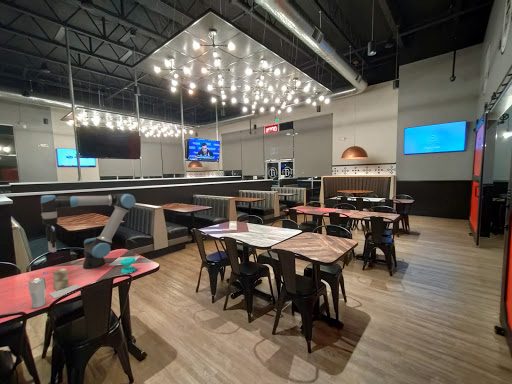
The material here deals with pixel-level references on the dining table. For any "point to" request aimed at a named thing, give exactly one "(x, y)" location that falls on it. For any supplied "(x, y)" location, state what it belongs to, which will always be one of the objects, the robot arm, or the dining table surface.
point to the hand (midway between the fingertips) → (52, 251)
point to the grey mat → (63, 291)
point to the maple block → (60, 279)
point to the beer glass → (37, 292)
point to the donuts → (130, 268)
